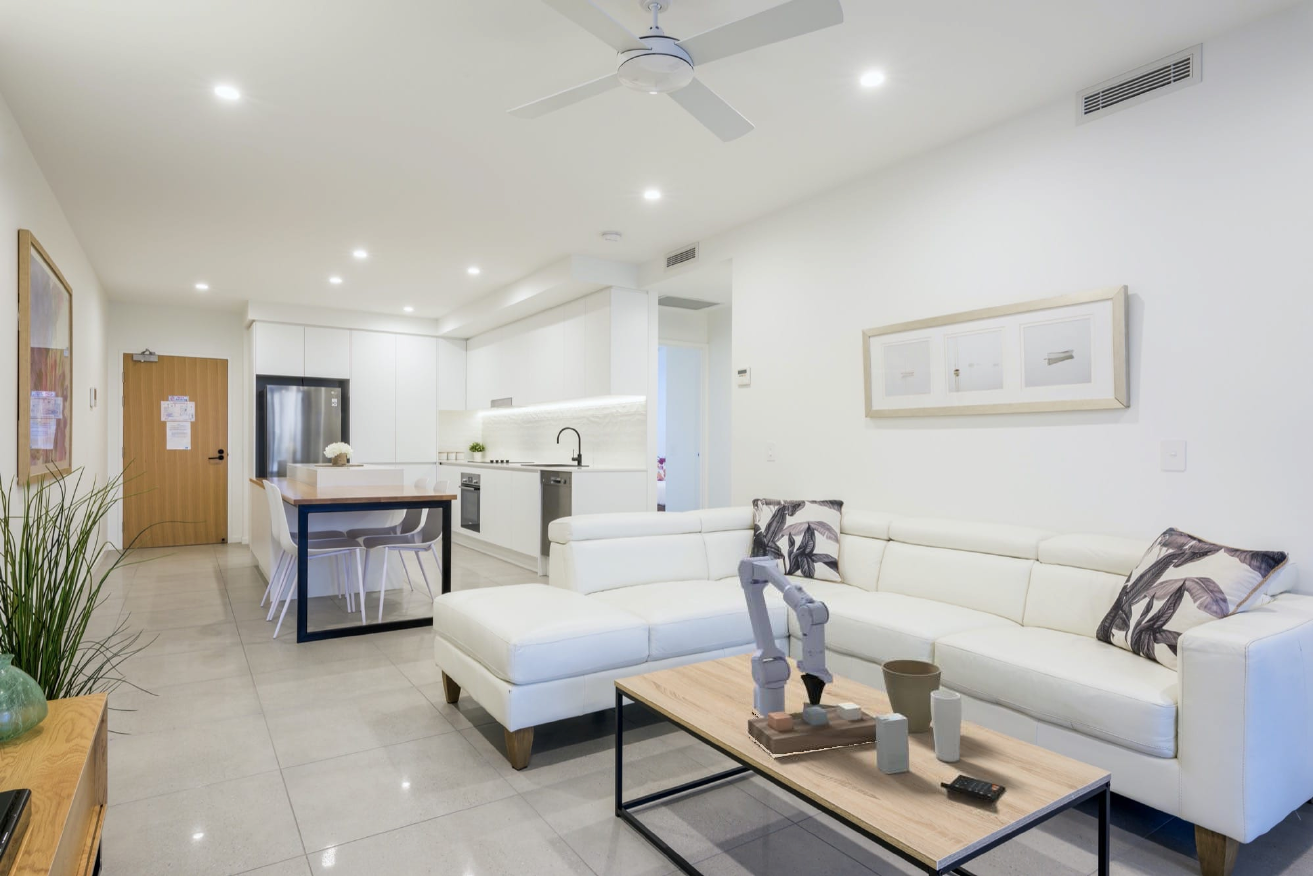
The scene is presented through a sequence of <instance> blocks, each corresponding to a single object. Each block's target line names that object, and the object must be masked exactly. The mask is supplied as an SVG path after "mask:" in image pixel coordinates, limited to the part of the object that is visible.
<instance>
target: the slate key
mask: <svg viewBox="0 0 1313 876" xmlns="http://www.w3.org/2000/svg"><path fill="white" fill-rule="evenodd" d="M823 709H824V708H821V707H820V706H811V707H805V708H802V712H803V721H805V722H806V723H808V724H809V725H811V726H815V725H822V724H827V712H826V711H825V710H823Z"/></svg>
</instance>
